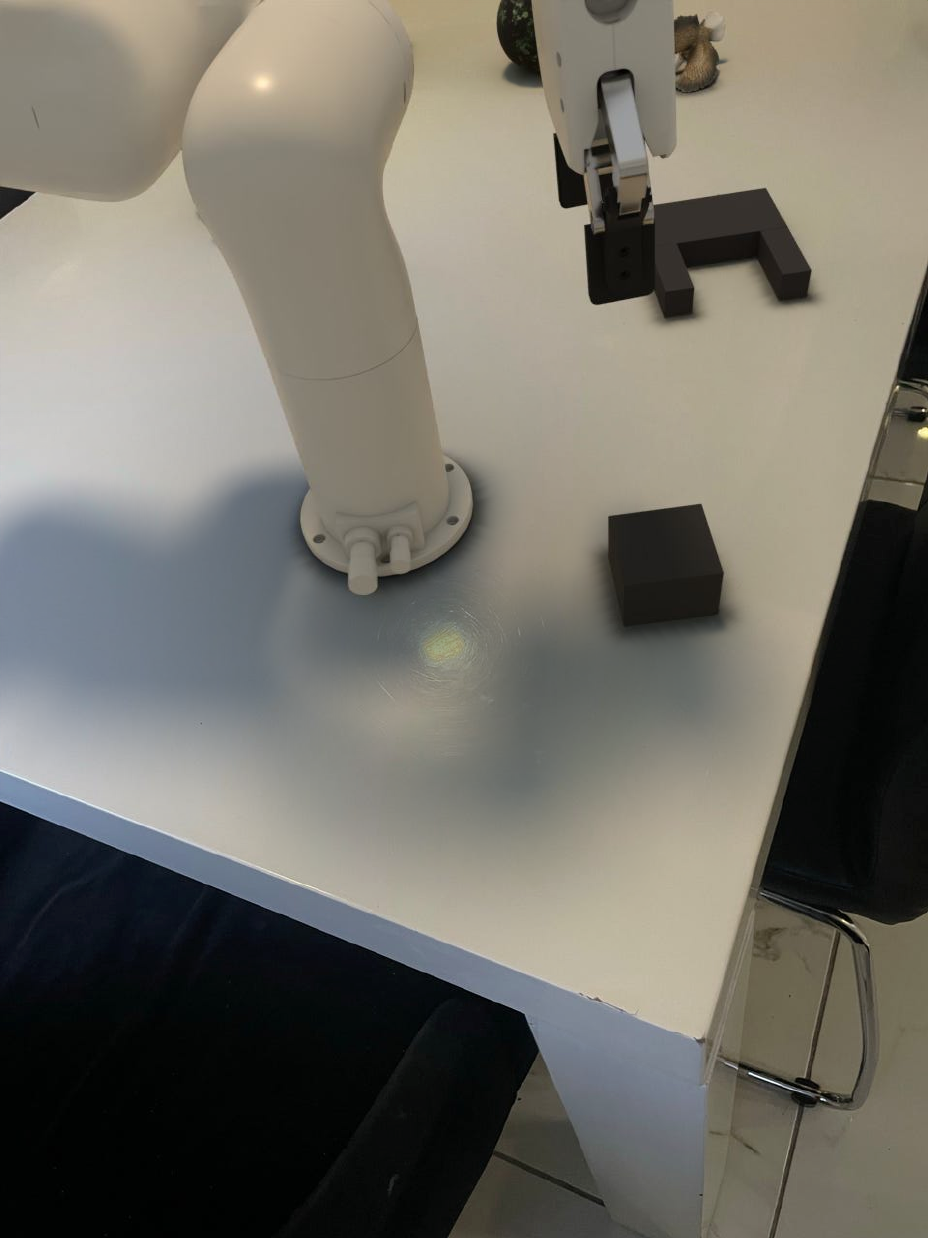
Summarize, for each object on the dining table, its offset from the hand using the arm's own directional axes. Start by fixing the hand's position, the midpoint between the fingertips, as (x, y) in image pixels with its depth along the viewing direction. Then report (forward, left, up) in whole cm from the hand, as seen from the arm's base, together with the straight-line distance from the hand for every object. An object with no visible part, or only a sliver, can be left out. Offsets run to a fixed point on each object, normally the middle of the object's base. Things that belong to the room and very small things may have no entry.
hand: (603, 246), depth 49 cm
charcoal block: (-6, -3, -21) cm, 22 cm away
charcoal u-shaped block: (+30, -15, -21) cm, 39 cm away
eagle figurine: (+69, -21, -21) cm, 74 cm away
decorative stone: (+77, -5, -21) cm, 79 cm away
